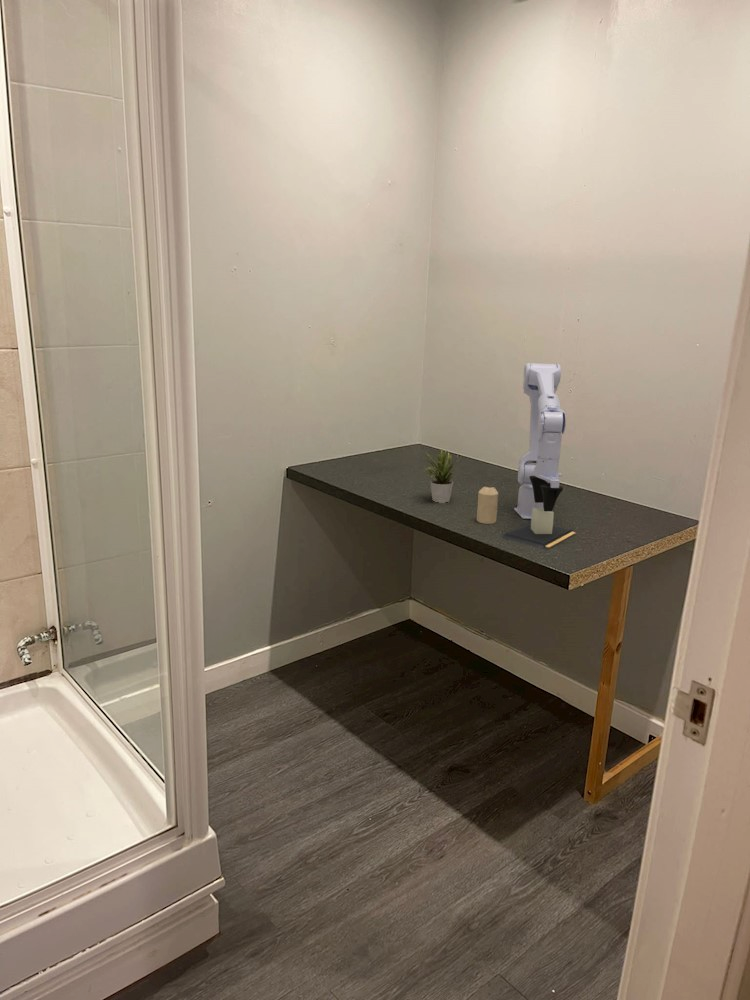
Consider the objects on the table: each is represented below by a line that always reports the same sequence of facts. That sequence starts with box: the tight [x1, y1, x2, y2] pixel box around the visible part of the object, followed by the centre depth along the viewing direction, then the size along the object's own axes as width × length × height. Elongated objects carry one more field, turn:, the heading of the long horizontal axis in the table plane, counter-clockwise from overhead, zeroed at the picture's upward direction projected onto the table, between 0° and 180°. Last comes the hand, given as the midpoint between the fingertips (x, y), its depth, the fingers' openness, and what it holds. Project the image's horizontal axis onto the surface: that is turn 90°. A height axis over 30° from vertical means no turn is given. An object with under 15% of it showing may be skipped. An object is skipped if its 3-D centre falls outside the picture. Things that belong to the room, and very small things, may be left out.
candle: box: [476, 486, 499, 525], centre depth 202 cm, size 6×6×10 cm
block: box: [530, 508, 555, 534], centre depth 192 cm, size 4×4×6 cm
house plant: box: [422, 449, 459, 504], centre depth 220 cm, size 14×14×16 cm
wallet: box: [501, 521, 578, 551], centre depth 194 cm, size 20×2×15 cm
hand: (543, 506), depth 191 cm, fingers open, 7 cm apart
